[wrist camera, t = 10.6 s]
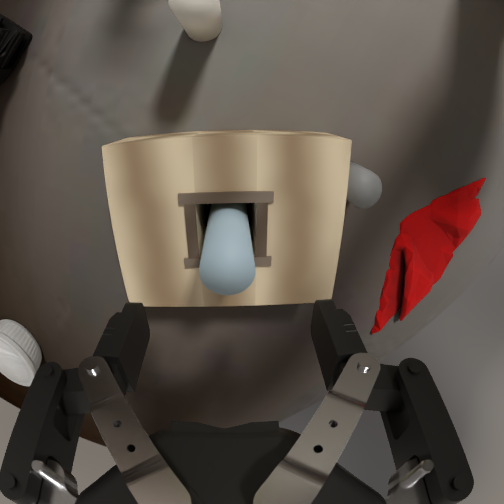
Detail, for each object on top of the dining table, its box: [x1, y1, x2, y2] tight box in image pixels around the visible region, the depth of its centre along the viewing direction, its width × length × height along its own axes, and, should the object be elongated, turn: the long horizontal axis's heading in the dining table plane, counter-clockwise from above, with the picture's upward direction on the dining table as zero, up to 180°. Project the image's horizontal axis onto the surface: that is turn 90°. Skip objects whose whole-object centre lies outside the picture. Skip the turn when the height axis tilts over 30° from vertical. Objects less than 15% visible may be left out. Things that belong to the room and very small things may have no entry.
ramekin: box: [0, 319, 42, 386], centre depth 32 cm, size 11×11×5 cm
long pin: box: [199, 203, 256, 295], centre depth 22 cm, size 3×3×12 cm
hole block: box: [102, 130, 352, 307], centre depth 25 cm, size 18×14×6 cm
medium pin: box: [169, 0, 222, 42], centre depth 16 cm, size 3×3×8 cm
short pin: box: [346, 161, 382, 209], centre depth 24 cm, size 3×3×5 cm
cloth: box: [371, 178, 486, 334], centre depth 31 cm, size 26×14×2 cm, turn 138°
